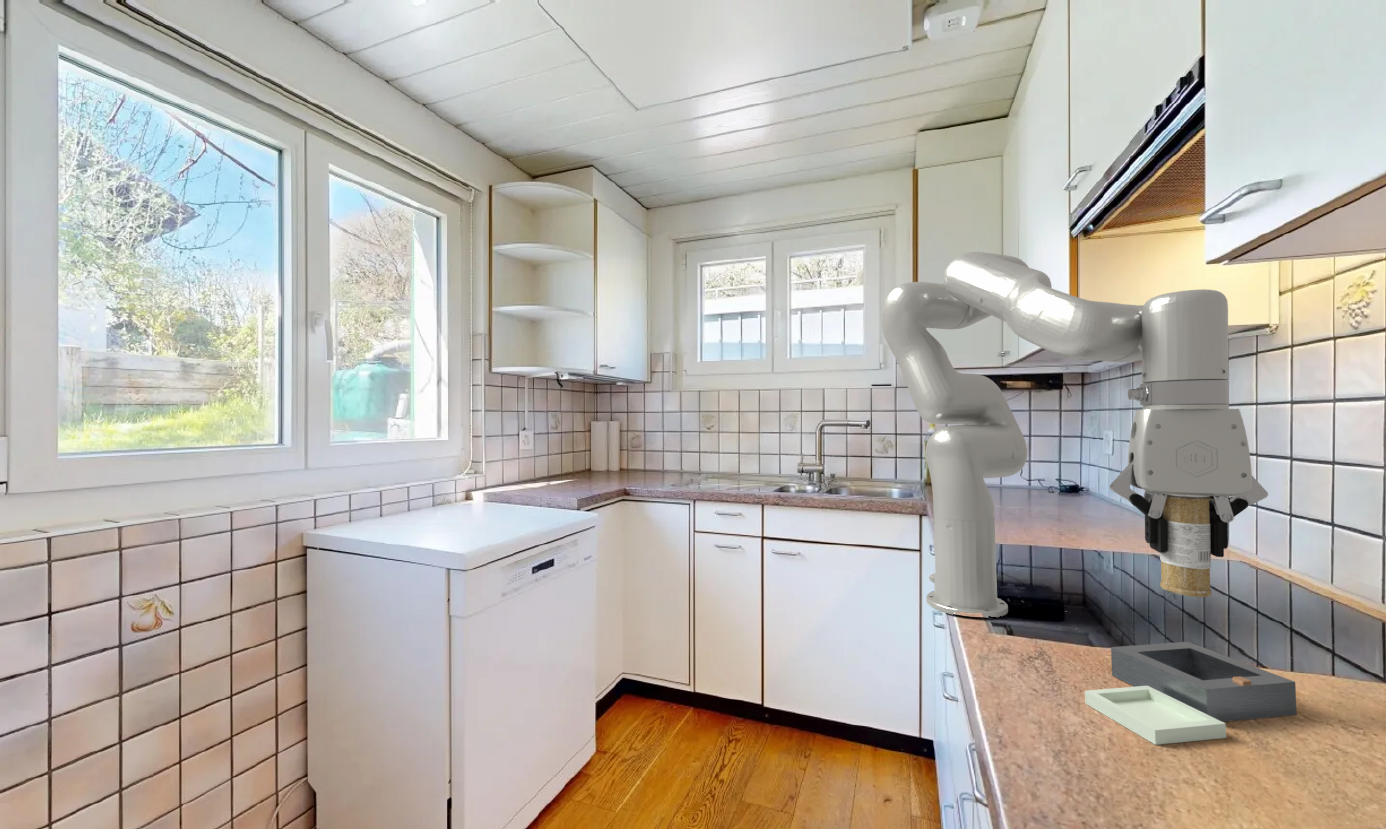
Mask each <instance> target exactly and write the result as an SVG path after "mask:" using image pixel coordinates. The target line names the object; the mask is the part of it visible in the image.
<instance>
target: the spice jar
mask: <svg viewBox="0 0 1386 829" xmlns="http://www.w3.org/2000/svg"><path fill="white" fill-rule="evenodd" d="M1209 497H1210V496H1199V495H1176V494H1167V497H1166V501H1165V504H1164V508H1163V511H1162V513H1163V518H1164V519H1166V520H1167V523H1168V551H1167V552H1166V553H1160V552H1159V553H1160V555H1159V557H1160V561H1161V562H1160V566H1161V567H1160V575H1161V578H1160V580H1161V581H1160V584H1159V586H1160V588H1161V589H1163V590H1165V591H1167V592H1170V593H1173V594H1174V595H1175V594H1176V595H1180V596H1186V597H1191V598H1194V597H1195V598H1207V597H1208V598H1209V597H1210V596H1212V589H1211V567H1212V558H1211V557H1212V554H1211V525H1210V518H1209V517H1210V515H1209V501H1210V498H1209Z"/></svg>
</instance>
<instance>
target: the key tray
mask: <svg viewBox="0 0 1386 829" xmlns="http://www.w3.org/2000/svg"><path fill="white" fill-rule="evenodd" d="M1084 704H1086V705H1087V706H1089V707H1090V708H1092V709H1094V710H1096V711H1097V712H1099V713H1100V714H1102V715H1104V716H1106V717H1108V718H1109V719H1111V720H1112V721H1114V722H1116V723H1117V724H1119V725H1121V726H1123V727H1124V728H1126V729H1128V730H1130V731H1131V732H1133V733H1135V734H1136V735H1138V736H1139V737H1141V738H1143V739H1145V740H1146V741H1148V742H1151V743H1152V744H1154V745H1167V744H1168V745H1169V744H1176V743H1177V744H1178V743H1189V742H1198V741H1207V740H1208V741H1209V740H1217V739H1227V729H1226V728H1227V725H1226V723H1227V722H1221V721H1219V720H1217V719H1215V718H1213V717H1211V716H1209V715H1207V714H1205V713H1203V712H1201V711H1199V710H1197V709H1195V708H1193V707H1191V706H1188V705H1186V704H1184V703H1182V702H1180V701H1178V700H1176V699H1174V698H1172V697H1170V696H1168V695H1166V694H1164V693H1162V692H1160V691H1158V690H1156V689H1153V688H1151V687H1149V686H1136V687H1134V686H1126V687H1116V688H1115V687H1113V688H1100V689H1092V690H1091V689H1088V690H1084Z"/></svg>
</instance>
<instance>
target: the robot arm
mask: <svg viewBox="0 0 1386 829" xmlns="http://www.w3.org/2000/svg"><path fill="white" fill-rule="evenodd" d="M991 316H992V317H995V318H997V319H998V320H1001V321H1003V322H1005V323H1006V324H1007V326H1008V327H1009V329H1010V330H1011V331H1012V332H1013V333H1014V334H1015V335H1017V336H1018V337H1019V338H1021V339H1023V340H1025V341H1027V342H1029V343H1031V344H1033V345H1035V346H1037V347H1039V348H1041V349H1044V350H1046V351H1049V352H1050V353H1053V354H1055V355H1057V356H1060V357H1063V358H1068V359H1070V360H1076V361H1098V362H1099V361H1101V362H1109V363H1110V362H1111V363H1113V362H1114V363H1130V362H1132V363H1133V362H1137V361H1141V374H1142V376H1141V381H1142V383H1140V384H1139V386H1138V387H1136V388H1129V389H1128V391H1127V398H1128V400H1129V401H1130V400H1131V401H1133V400H1136V401H1137V402H1138V401H1139V403H1140V405H1141V407H1142V409H1136V410H1135V412H1134V415H1133V420H1132V425H1131V431H1130V436H1129V442H1128V443H1129V444H1128V453H1127V454H1128V455H1127V466H1125V468H1124V469H1123V470H1122V471H1121V472H1120V473H1119V475H1118V476H1117V477H1116V478H1115V479H1114V480H1113V481H1112V482H1111V484H1110V485H1109V489H1110V490H1111V491H1112V492H1113V493H1115V494H1117V495H1118V496H1120V497H1122V498H1123V499H1125V500H1126V501H1128V502H1130V504H1131V505H1133V506H1134V507H1135V508H1136V509H1138V510H1139V512H1140V513H1142V515H1144V540H1145V543H1147V544H1149V547H1150V548H1151V549H1152V550H1154V551H1155V552H1157V553H1166V552H1167V551H1168V523H1167V520H1166V519H1164V518H1163V513H1162V511H1163V508H1164V504H1165V501H1166V497H1167V494H1176V495H1199V496H1210V497H1209V498H1210V501H1209V515H1210V517H1209V518H1210V525H1211V556H1214V557H1216V558H1224V556H1225V550H1226V549H1228V548H1229V523H1232V522H1233V521H1234V520H1235V517H1236V516H1237V515H1239V514H1241V512H1243V511H1245V510H1246V509H1247V508H1248V507H1249V506H1251V505H1254V504H1256V503H1258V502H1261V501H1263V500H1264V499H1266V498H1267V497H1268V496H1269V493H1268V491H1267V490H1266V489H1265V487H1263V486H1262V484H1260V483H1259V482H1258V480H1257V479H1256V478H1255V477H1254V476H1253V475H1252V474H1253V473H1252V472H1253V471H1252V463H1251V454H1250V447H1249V441H1248V436H1247V432H1246V428H1245V423H1244V420H1243V416H1242V414H1241V410H1240V408H1230V388H1229V387H1230V383H1229V382H1230V381H1229V379H1230V378H1229V376H1230V375H1229V365H1230V364H1229V362H1230V361H1229V304H1228V299H1227V297H1226V295H1225V294H1224V293H1222V292H1221V291H1219V290H1215V289H1207V288H1206V289H1205V288H1204V289H1200V288H1199V289H1189V290H1180V291H1174V292H1173V291H1172V292H1168V293H1164V294H1159V295H1156V296H1153V297H1150V299H1148V300H1147V301H1146V302H1145V303H1144V304H1142V305H1140V304H1137V305H1136V304H1125V303H1119V302H1118V303H1117V302H1116V303H1115V302H1108V301H1094V300H1089V299H1086V298H1085V299H1084V298H1081V297H1078V296H1075V295H1072V294H1068V293H1065V292H1063V291H1060V290H1058V289H1055V288H1052V282H1051V279H1050V277H1049V276H1048V274H1046V273H1045V272H1043V271H1041V270H1038V269H1034V268H1031V267H1029V265H1028V264H1027V263H1026V262H1025V261H1023V260H1022V259H1020V258H1018V257H1016V256H1012V255H1004V254H998V253H997V254H996V253H992V252H991V253H990V252H984V251H973V252H972V251H970V252H966V253H963V254H960V255H957V256H956V257H955V258H953V259H952V260H951V261H950V262H949V263H948V264H947V266H946V268H945V270H944V273H943V283H936V282H926V281H912V282H911V281H910V282H905V283H901V284H899V285H897V286H895V287H894V288H893V289H892V290H891V291H890V292H888V294H887V296H886V298H885V299H884V303H883V305H882V312H881V327H882V332H883V333H882V334H883V337H884V338H885V341H886V343H887V345H888V347H889V350H891V353H892V354H893V356H894V358H895V360H896V361H897V363H898V367H899V368H900V370H901V374H902V376H903V378H904V381H905V384H906V386H907V389H908V392H909V394H910V396H911V400H912V401H913V403H914V404H913V405H914V406H915V409H916V410H917V413H918V415H919V416H920V417H921V419H922V420H924V421H925V422H927V423H930V424H938V425H947V426H943V427H942V428H939V429H937V430H936V431H934V432H933V433H932V434H931V436H929V439H928V440H927V442H926V446H925V458H926V464H927V468H928V471H929V477H930V483H931V492H932V505H933V507H932V509H933V527H934V528H933V534H934V535H933V536H934V571H935V572H934V573H933V574H930V575H929V576H928V579H929V581H930V582H931V583H934V590H933V591H930V592H928V593H927V594H926V595H925V596H926V598H925V599H926V603H927V605H929V607H931V608H932V609H934V610H936V611H939V612H942V613H945V614H947V615H948V614H949V615H953V613H954V612H965V613H983V614H985V615H987V616H991V617H996V618H1001V617H1003V616H1006V615H1007V614H1008V612H1009V606H1008V604H1007V603H1006V602H1005V601H1004V600H1002V599H1001V598H998V590H997V589H998V588H997V586H998V585H997V584H998V583H997V579H998V578H997V551H996V549H997V548H996V519H995V518H996V517H995V505H994V500H993V498H992V495H991V492H990V490H989V488H988V487H987V484H986V482H985V479H995V478H996V479H997V478H1005V477H1011V476H1013V475H1015V474H1018V473H1019V472H1021V470H1023V468H1024V467H1025V465H1026V462H1027V459H1028V446H1027V443H1026V439H1025V437H1024V435H1023V432H1022V431H1021V430H1022V429H1021V427H1020V426H1019V424H1018V422H1017V420H1016V418H1015V416H1014V414H1013V411H1012V409H1011V407H1010V406H1009V405H1010V404H1008V401H1007V399H1006V397H1005V394H1003V391H1002V390H1001V388H1000V387H999V386H998V384H996V383H995V382H994V380H992V379H990V378H989V377H987V376H984V375H982V374H976V373H962V372H960V371H959V372H958V371H957V370H956V369H955V368H954V366H953V364H952V363H951V361H950V359H949V356H948V354H947V351H946V349H945V348H944V346H943V345H942V343H940V342H939V340H938V339H937V338H935V337H934V336H933V334H931V333H930V332H929V331H928V329H937V330H959V329H964V328H967V327H970V326H972V325H974V324H976V323H978V322H980V321H982V320H985V319H988V318H989V317H991ZM1131 486H1132V487H1134V488H1136V489H1140V490H1144V494H1143V496H1142V495H1140V494H1139V493H1138V492H1136V491H1134V490H1133V489H1131ZM953 616H954V615H953ZM1000 616H1001V617H1000Z"/></svg>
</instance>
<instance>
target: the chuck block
mask: <svg viewBox="0 0 1386 829" xmlns="http://www.w3.org/2000/svg"><path fill="white" fill-rule="evenodd" d="M1110 655H1111V657H1110V658H1111V660H1110V661H1111V676H1112V677H1114V678H1116V679H1118V680H1120V681H1122V682H1124V683H1126V684H1129V686H1131V687H1136V686H1149V687H1151V688H1153V689H1156V690H1158V691H1160V692H1162V693H1164V694H1166V695H1168V696H1170V697H1172V698H1174V699H1176V700H1178V701H1180V702H1182V703H1184V704H1186V705H1188V706H1191V707H1193V708H1195V709H1197V710H1199V711H1201V712H1203V713H1205V714H1207V715H1209V716H1211V717H1213V718H1215V719H1217V720H1219V721H1221V722H1224V723H1228V722H1236V721H1245V720H1259V719H1267V718H1268V719H1270V718H1277V717H1278V718H1279V717H1280V718H1281V717H1289V716H1297V715H1298V714H1297V710H1298V709H1297V694H1296V693H1297V691H1296V690H1297V689H1296V686H1297V685H1296V681H1294V680H1291V679H1289V678H1285V677H1283V676H1281V675H1277V674H1276V673H1273V672H1270V671H1267V670H1265V669H1262V668H1259V667H1256V666H1254V665H1251V664H1249V663H1246V662H1243V661H1240V660H1238V659H1235V658H1233V657H1231V656H1227V655H1225V654H1222V653H1219V652H1217V651H1214V650H1211V649H1208V648H1206V647H1202V646H1201V645H1198V644H1194V643H1192V642H1189V641H1182V642H1181V641H1178V642H1177V641H1176V642H1164V643H1152V644H1138V645H1136V644H1135V645H1121V646H1112V647H1110Z"/></svg>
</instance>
